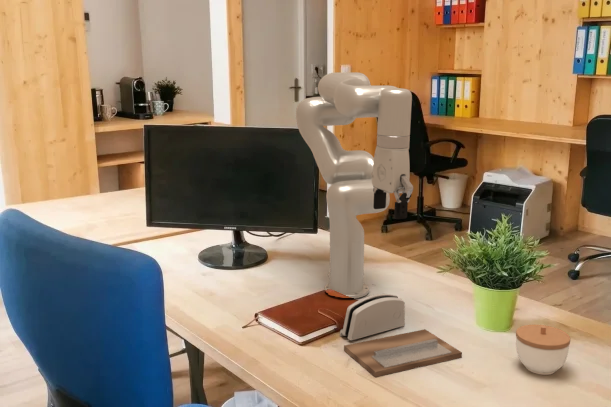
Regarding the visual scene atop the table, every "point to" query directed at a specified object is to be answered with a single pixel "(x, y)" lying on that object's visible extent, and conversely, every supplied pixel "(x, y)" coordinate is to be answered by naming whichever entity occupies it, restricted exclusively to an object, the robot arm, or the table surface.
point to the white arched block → (373, 316)
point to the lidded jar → (542, 348)
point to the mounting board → (367, 348)
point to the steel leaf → (409, 353)
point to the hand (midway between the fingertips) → (389, 213)
